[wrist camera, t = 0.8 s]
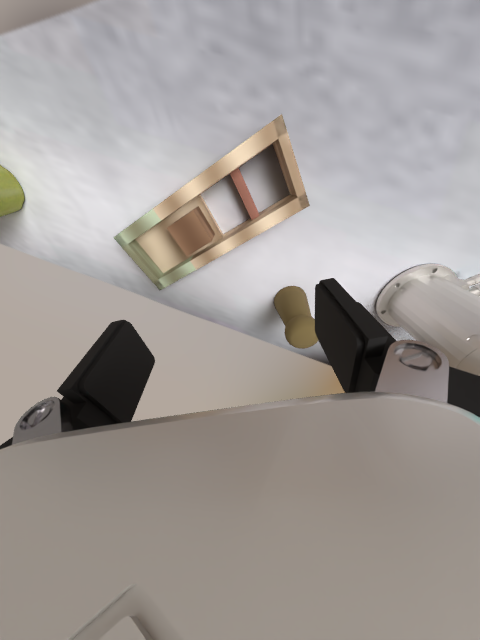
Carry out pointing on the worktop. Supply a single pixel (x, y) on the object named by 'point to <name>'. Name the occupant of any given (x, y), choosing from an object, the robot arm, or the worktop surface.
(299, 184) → the box
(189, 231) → the block
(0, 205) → the plant pot
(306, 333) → the cork
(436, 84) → the worktop surface
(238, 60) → the worktop surface
